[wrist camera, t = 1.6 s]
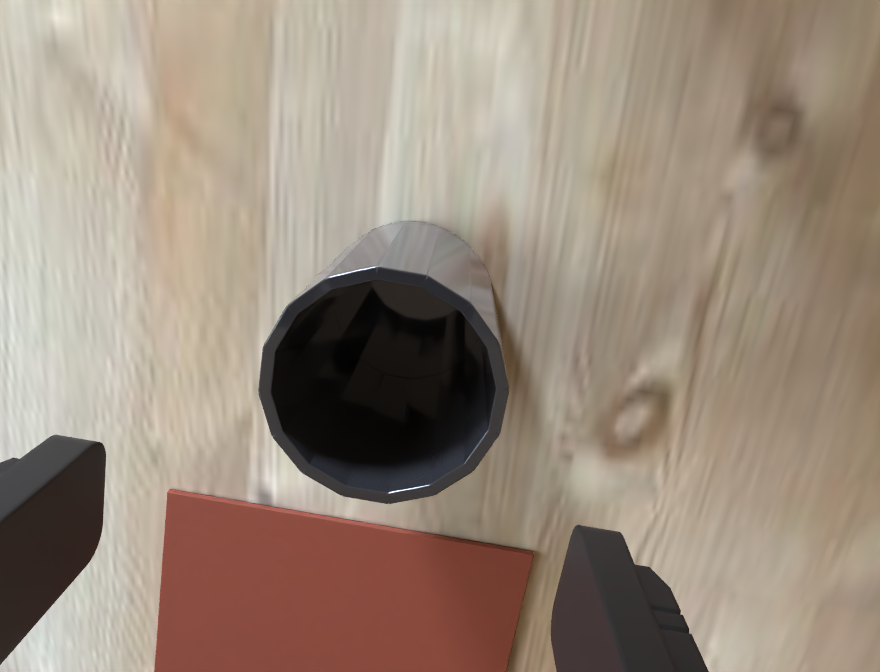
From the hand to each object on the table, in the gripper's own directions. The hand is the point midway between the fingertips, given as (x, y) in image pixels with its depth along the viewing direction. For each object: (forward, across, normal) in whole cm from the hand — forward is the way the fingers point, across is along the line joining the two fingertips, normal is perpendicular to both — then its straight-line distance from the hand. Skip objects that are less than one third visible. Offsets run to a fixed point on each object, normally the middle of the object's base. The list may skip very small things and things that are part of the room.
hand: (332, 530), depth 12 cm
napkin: (+17, +1, +16) cm, 23 cm away
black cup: (+17, 0, 0) cm, 17 cm away
